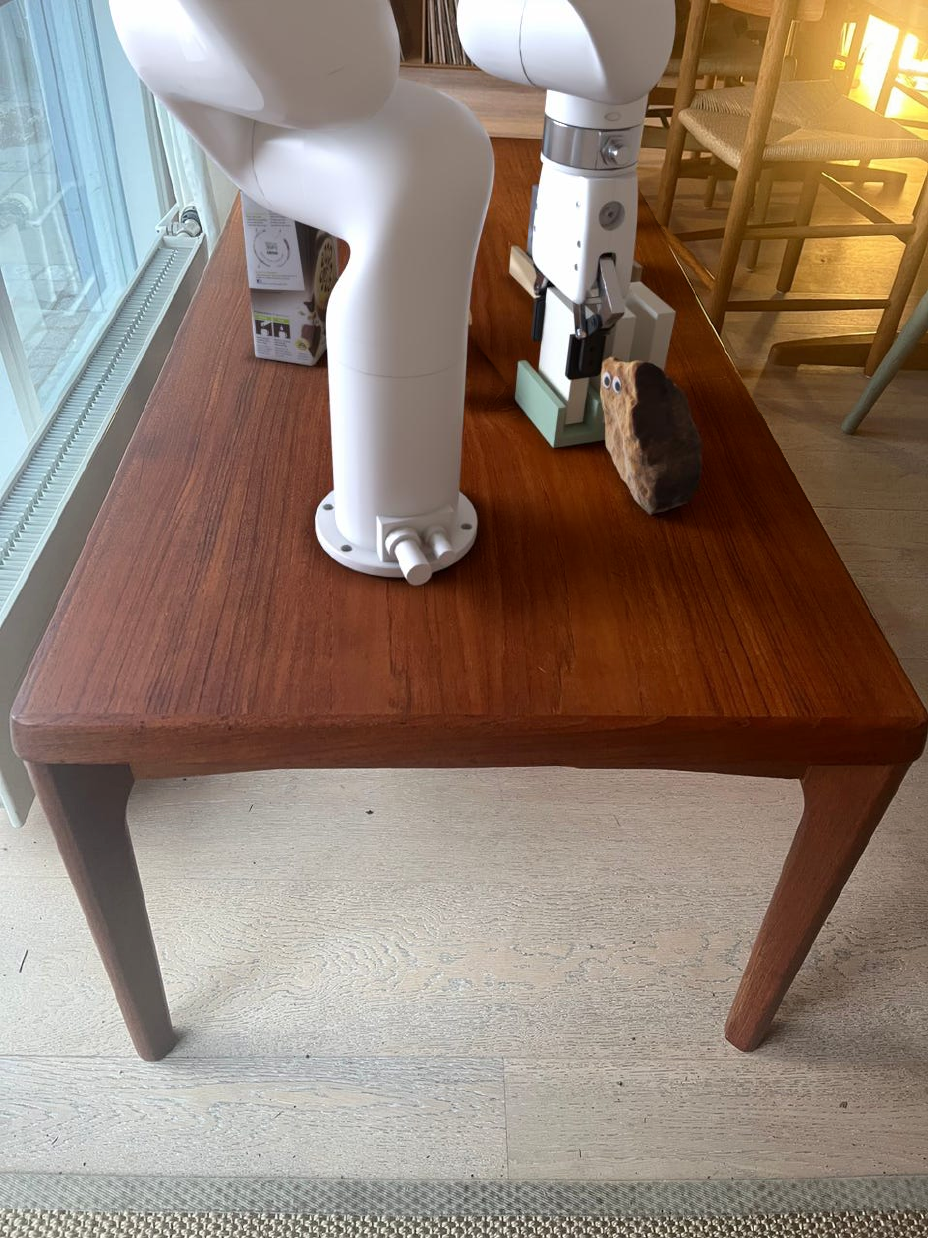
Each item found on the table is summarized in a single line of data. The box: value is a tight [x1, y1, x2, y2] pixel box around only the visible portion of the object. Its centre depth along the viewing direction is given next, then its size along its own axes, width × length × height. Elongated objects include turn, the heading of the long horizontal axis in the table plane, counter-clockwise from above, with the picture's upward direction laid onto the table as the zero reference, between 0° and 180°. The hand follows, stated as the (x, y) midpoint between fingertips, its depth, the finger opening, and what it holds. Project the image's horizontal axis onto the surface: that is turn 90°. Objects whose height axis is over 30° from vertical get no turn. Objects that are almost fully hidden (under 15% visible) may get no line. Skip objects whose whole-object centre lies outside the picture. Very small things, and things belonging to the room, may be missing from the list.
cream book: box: [537, 287, 594, 425], centre depth 86 cm, size 2×6×10 cm, turn 20°
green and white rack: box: [514, 281, 677, 449], centre depth 88 cm, size 12×9×11 cm
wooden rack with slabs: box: [508, 184, 643, 300], centre depth 109 cm, size 12×9×11 cm
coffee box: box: [239, 189, 340, 367], centre depth 94 cm, size 9×6×16 cm
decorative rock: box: [600, 357, 703, 515], centre depth 80 cm, size 12×6×11 cm, turn 17°
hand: (564, 355), depth 86 cm, fingers closed on cream book, 6 cm apart
